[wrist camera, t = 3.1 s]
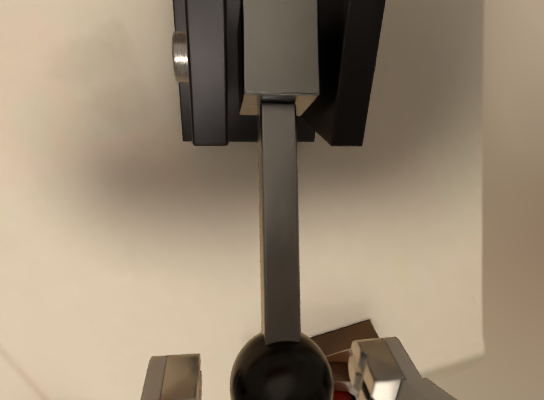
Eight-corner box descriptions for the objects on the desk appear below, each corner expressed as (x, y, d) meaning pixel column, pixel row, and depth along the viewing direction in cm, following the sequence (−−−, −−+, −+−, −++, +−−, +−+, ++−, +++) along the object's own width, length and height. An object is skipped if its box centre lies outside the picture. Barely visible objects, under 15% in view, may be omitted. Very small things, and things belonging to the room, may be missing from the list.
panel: (369, 319, 30) (389, 357, 26) (380, 375, 34) (399, 415, 30) (252, 356, 30) (256, 399, 26) (275, 408, 34) (282, 452, 30)
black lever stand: (309, 137, 22) (391, 226, 11) (184, 136, 21) (148, 234, 10) (326, -49, 18) (480, -177, 7) (171, -62, 17) (85, -238, 6)
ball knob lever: (318, 398, 12) (350, 467, 9) (230, 407, 12) (232, 483, 9) (311, 42, 12) (341, -13, 9) (222, 38, 12) (221, -22, 9)
